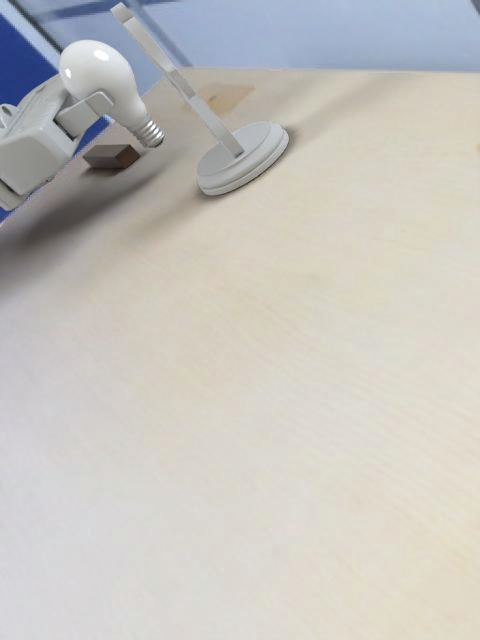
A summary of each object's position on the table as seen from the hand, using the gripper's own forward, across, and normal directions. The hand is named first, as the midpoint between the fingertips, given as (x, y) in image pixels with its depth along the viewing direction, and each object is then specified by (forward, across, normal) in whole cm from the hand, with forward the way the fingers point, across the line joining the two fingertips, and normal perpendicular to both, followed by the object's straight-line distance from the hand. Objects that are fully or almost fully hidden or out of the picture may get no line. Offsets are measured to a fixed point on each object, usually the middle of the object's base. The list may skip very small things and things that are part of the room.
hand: (115, 84), depth 75 cm
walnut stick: (-11, -12, -9) cm, 18 cm away
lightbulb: (-1, 0, -7) cm, 7 cm away
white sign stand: (+9, +12, -9) cm, 17 cm away
